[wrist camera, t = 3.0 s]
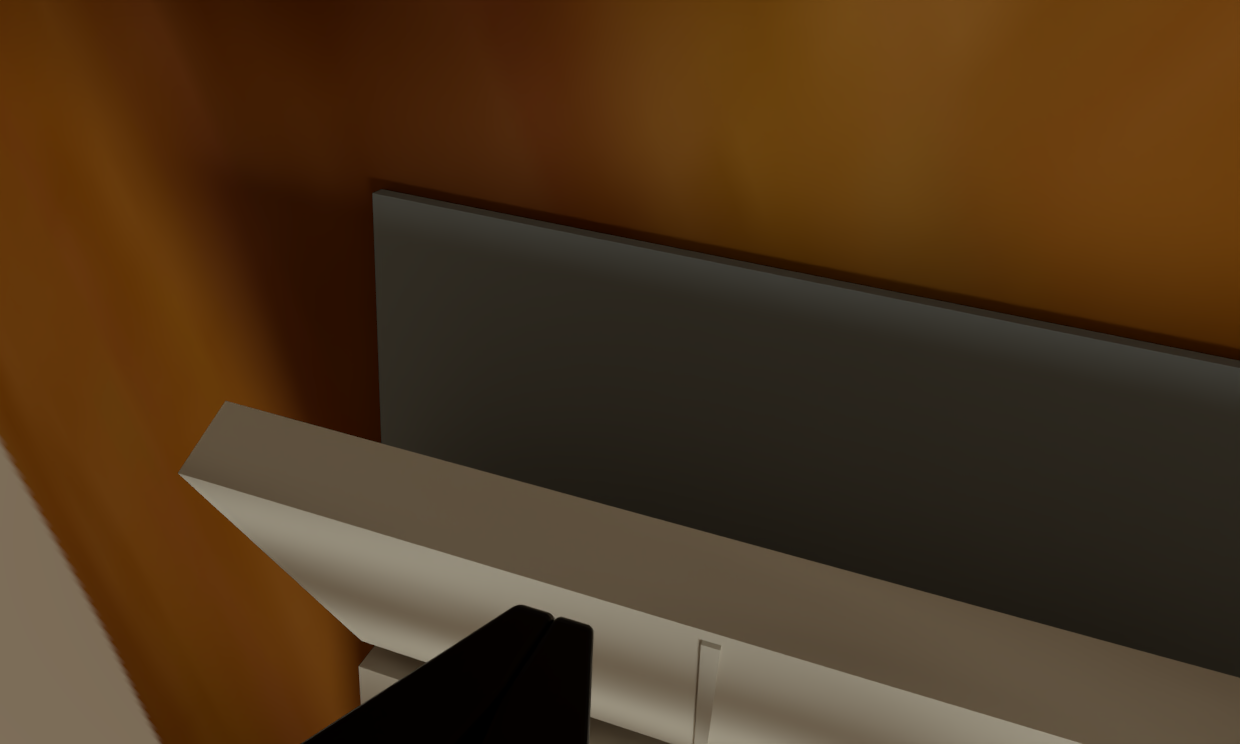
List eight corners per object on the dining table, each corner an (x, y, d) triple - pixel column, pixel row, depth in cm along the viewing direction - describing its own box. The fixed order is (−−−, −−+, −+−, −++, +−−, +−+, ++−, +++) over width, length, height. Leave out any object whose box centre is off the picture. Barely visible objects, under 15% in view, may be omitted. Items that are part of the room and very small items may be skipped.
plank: (1565, 959, 14) (1586, 1051, 13) (386, 588, 19) (360, 643, 18) (2358, 984, 7) (2478, 1169, 7) (225, 401, 12) (174, 477, 12)
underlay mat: (1428, 1130, 17) (1437, 1149, 17) (399, 757, 22) (393, 767, 22) (2128, 537, 10) (2162, 554, 10) (382, 188, 15) (372, 193, 15)
